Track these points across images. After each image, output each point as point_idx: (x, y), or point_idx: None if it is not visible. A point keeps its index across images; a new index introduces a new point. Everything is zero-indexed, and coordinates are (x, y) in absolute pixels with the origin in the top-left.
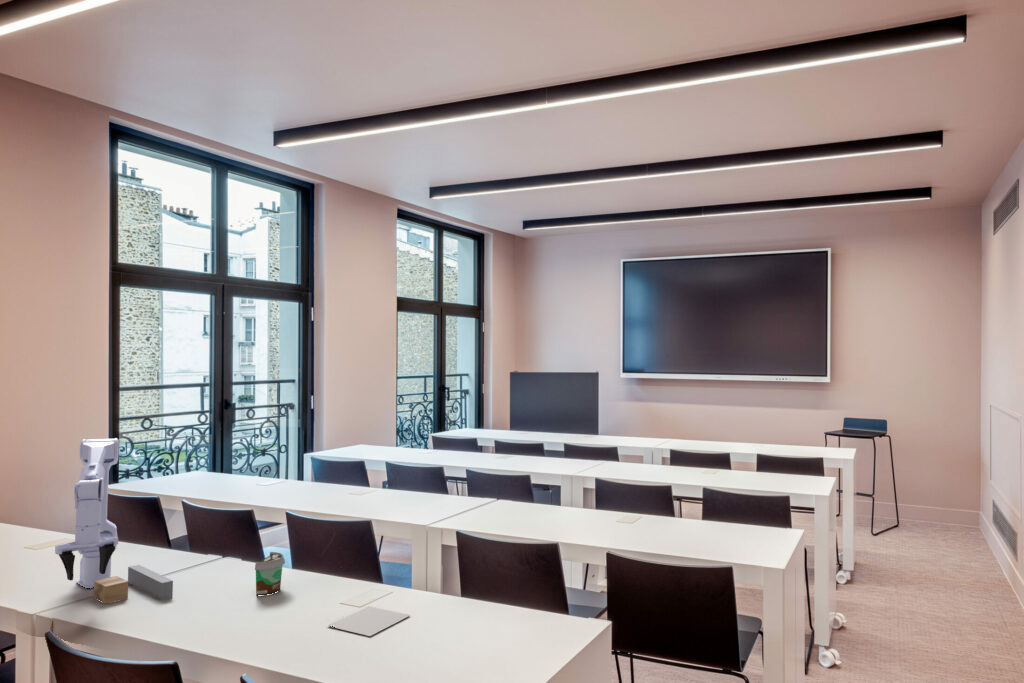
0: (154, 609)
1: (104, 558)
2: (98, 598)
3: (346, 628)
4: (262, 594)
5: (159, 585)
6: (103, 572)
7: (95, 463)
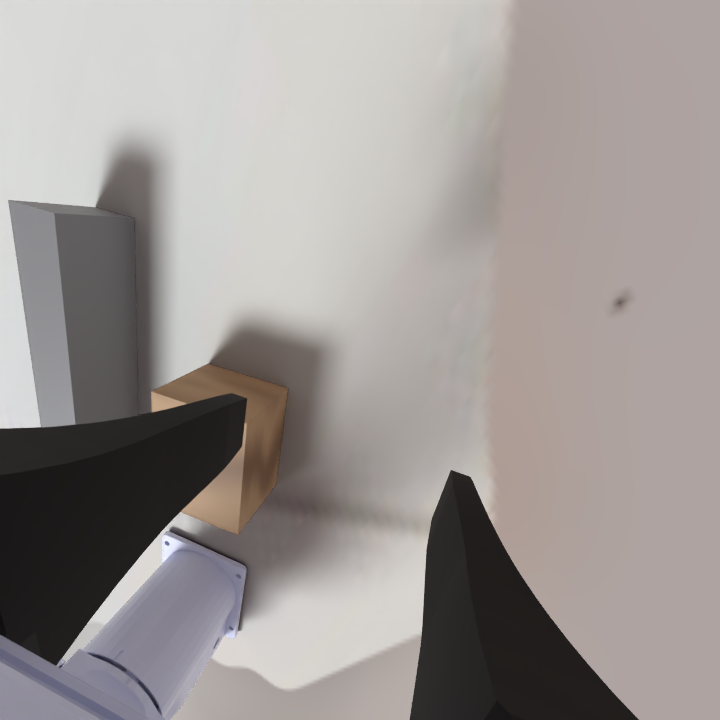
0: (201, 110)
1: (135, 448)
2: (276, 449)
3: None
4: None
5: (77, 245)
6: (234, 397)
7: None
